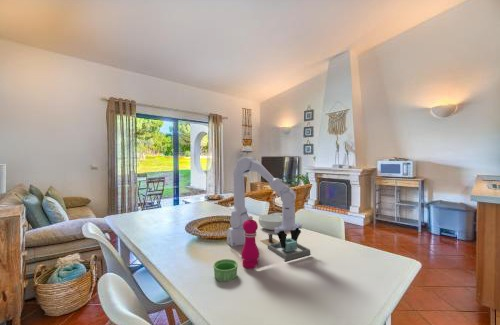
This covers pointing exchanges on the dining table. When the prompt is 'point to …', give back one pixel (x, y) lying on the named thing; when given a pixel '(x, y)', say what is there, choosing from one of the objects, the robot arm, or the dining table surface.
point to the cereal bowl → (270, 221)
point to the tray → (292, 255)
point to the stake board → (269, 240)
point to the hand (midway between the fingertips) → (288, 246)
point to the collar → (290, 245)
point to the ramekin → (225, 269)
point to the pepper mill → (250, 244)
